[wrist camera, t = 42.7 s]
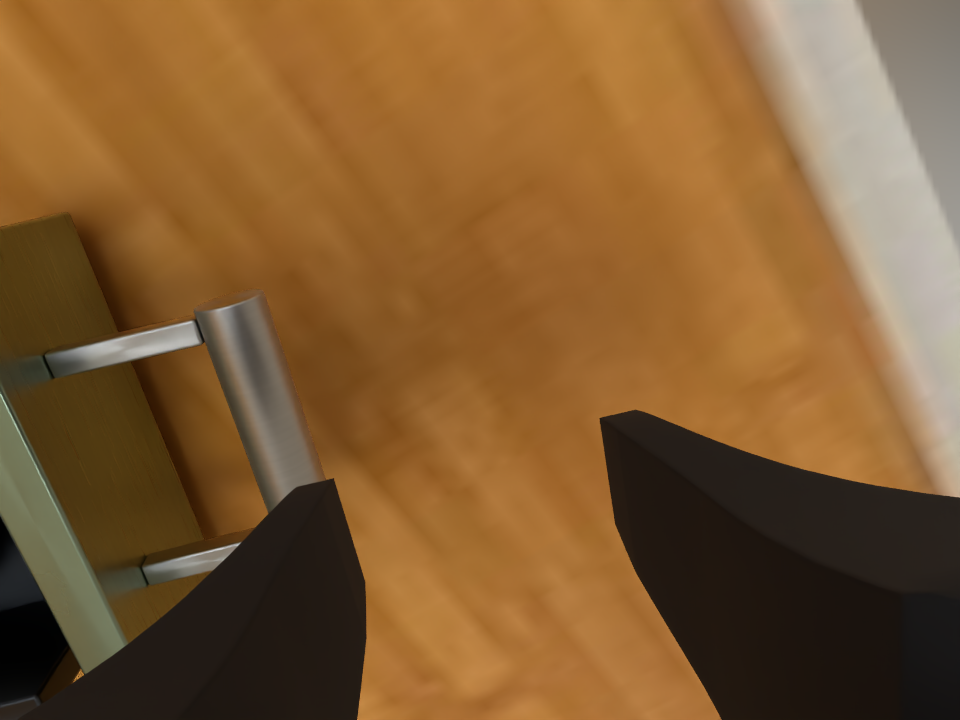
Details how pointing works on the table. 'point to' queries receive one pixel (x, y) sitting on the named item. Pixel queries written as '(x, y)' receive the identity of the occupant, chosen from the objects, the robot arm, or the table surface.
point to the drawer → (111, 459)
